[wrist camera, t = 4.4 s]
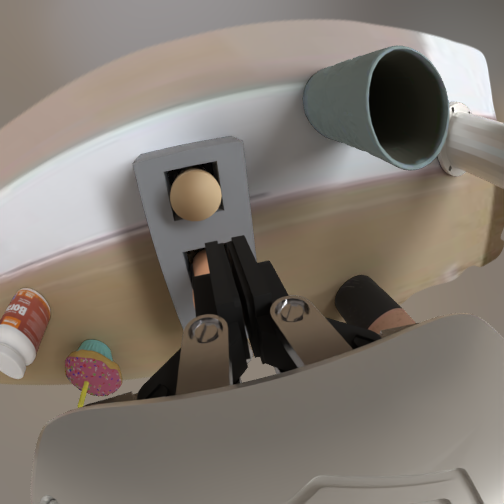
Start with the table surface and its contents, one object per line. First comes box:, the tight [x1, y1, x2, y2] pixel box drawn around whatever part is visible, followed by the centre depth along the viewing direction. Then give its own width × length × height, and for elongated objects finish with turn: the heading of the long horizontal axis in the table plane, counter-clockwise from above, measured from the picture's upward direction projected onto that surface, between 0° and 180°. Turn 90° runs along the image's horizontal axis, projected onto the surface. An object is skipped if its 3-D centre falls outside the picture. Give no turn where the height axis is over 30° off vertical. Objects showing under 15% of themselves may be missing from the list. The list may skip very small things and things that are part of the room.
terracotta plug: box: [192, 249, 210, 308], centre depth 24 cm, size 4×4×6 cm
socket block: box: [133, 136, 257, 338], centre depth 28 cm, size 9×22×5 cm, turn 6°
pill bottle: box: [0, 288, 51, 379], centre depth 23 cm, size 6×6×11 cm
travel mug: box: [335, 275, 415, 334], centre depth 32 cm, size 8×8×20 cm
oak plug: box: [170, 164, 222, 221], centre depth 23 cm, size 4×4×6 cm
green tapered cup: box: [303, 46, 450, 170], centre depth 21 cm, size 10×10×12 cm
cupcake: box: [65, 340, 122, 408], centre depth 28 cm, size 9×8×12 cm
